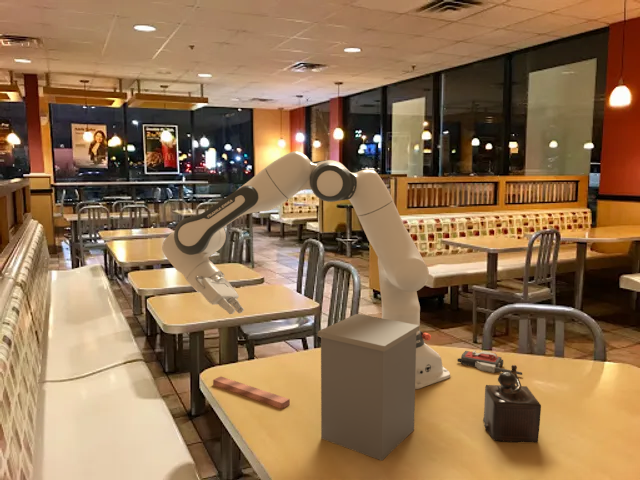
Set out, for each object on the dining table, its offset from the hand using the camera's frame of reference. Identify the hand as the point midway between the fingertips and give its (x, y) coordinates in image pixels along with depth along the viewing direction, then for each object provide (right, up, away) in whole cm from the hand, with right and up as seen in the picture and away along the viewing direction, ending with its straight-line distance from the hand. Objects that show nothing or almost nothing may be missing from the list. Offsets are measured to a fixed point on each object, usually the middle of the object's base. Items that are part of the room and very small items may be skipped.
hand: (237, 312), depth 149 cm
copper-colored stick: (+4, -23, -3) cm, 23 cm away
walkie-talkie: (+77, -20, +15) cm, 81 cm away
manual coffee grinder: (+68, -26, -26) cm, 78 cm away
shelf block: (+35, -25, -25) cm, 50 cm away
